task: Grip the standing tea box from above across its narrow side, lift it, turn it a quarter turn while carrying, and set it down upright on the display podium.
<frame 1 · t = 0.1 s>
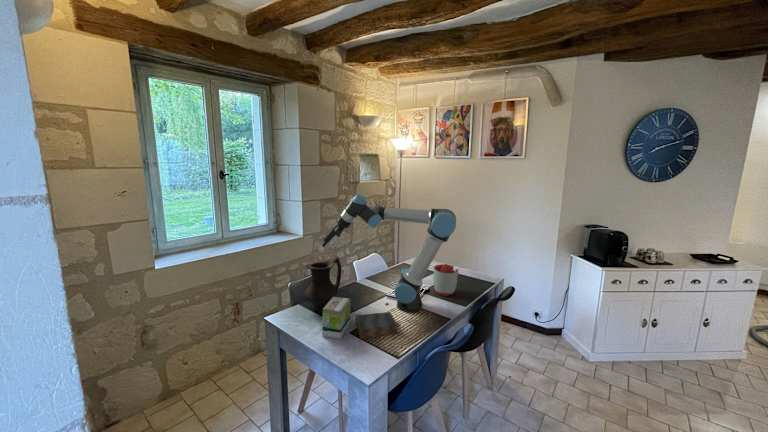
hand: (325, 246, 181), 36 cm above the table, tool tilted 35°, fingers open, 13 cm apart
tea box: (336, 330, 162), on the table
jug: (323, 308, 185), on the table
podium: (376, 328, 165), on the table
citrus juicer: (445, 292, 210), on the table
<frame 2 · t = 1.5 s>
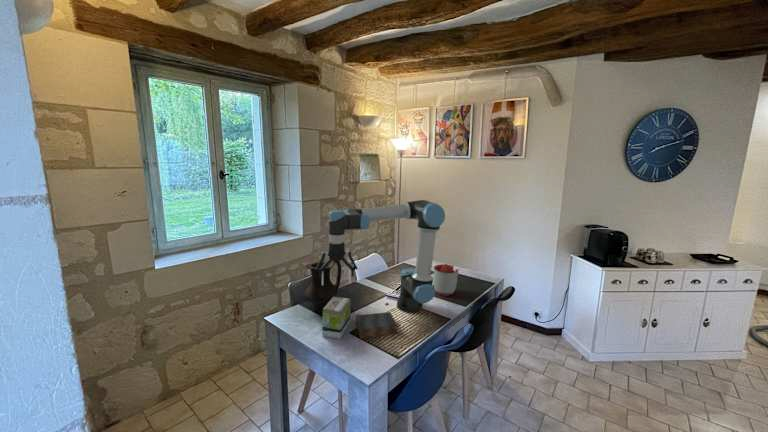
hand: (336, 283, 158), 25 cm above the table, tool pointing down, fingers open, 13 cm apart
nothing on the table moved.
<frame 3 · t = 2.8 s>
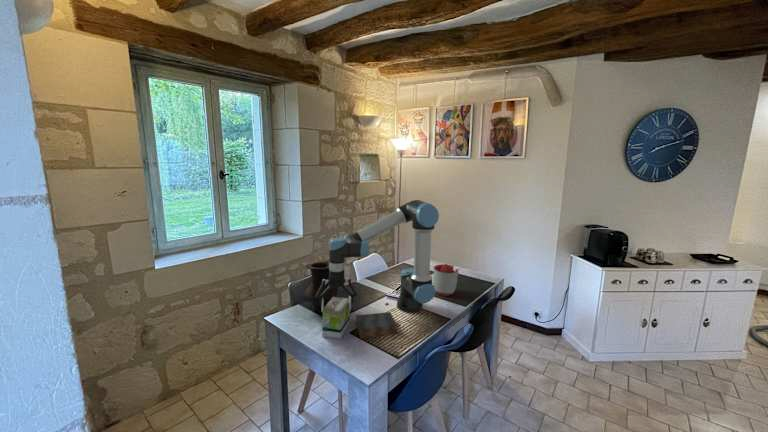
hand: (336, 309, 160), 11 cm above the table, tool pointing down, fingers open, 13 cm apart
nothing on the table moved.
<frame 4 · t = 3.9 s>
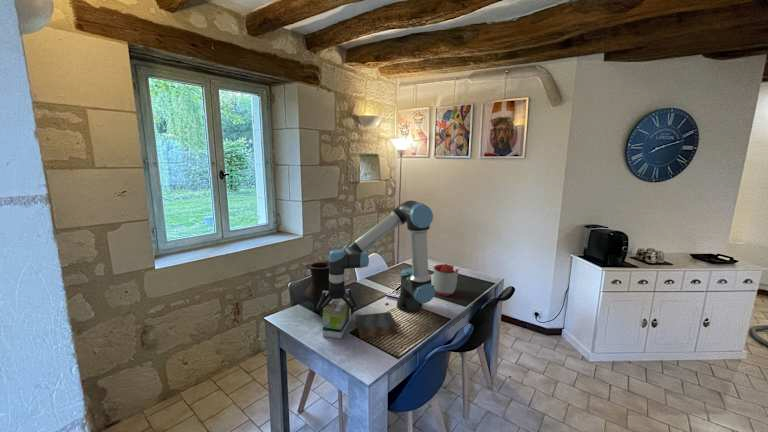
hand: (336, 320, 161), 5 cm above the table, tool pointing down, fingers closed on tea box, 12 cm apart
tea box: (336, 330, 162), on the table, touching gripper
everything else where it was.
when the fingers open (11 cm above the table, at t = 10.6 s): tea box drops 1 cm, resting on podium.
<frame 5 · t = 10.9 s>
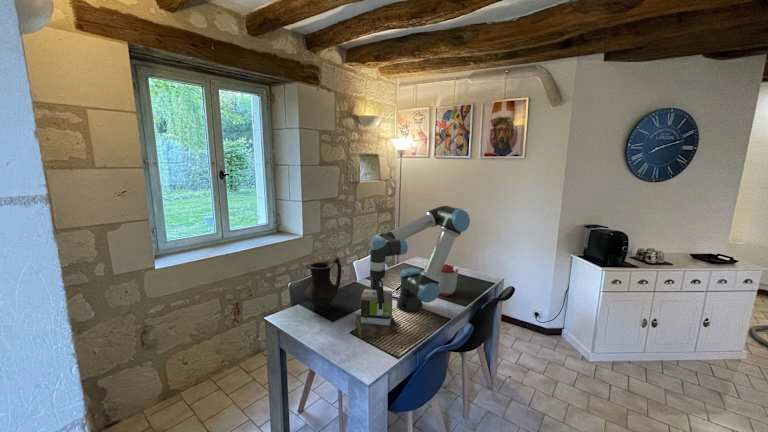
hand: (376, 308, 163), 11 cm above the table, tool pointing down, fingers open, 13 cm apart
tea box: (376, 320, 164), point 4 cm above the table, touching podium
everything else where it was.
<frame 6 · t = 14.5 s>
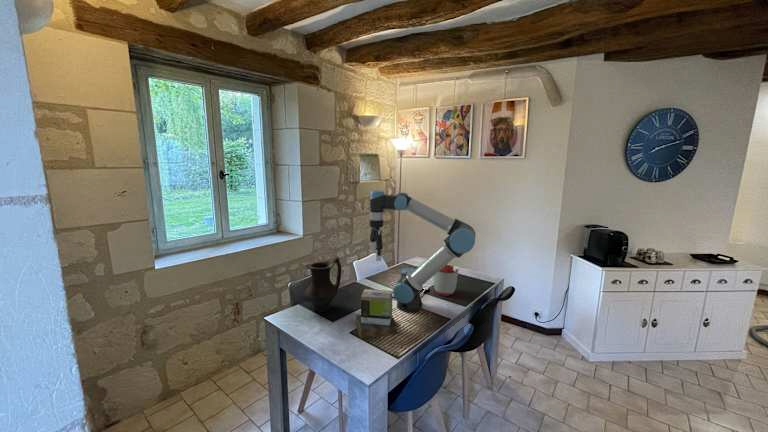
hand: (375, 256, 176), 33 cm above the table, tool pointing down, fingers open, 13 cm apart
nothing on the table moved.
at the end: tea box inside the target area on the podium (0.3 cm from its centre), point 4.3 cm above the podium's base; tea box tilted 0°; the gripper is holding nothing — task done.
